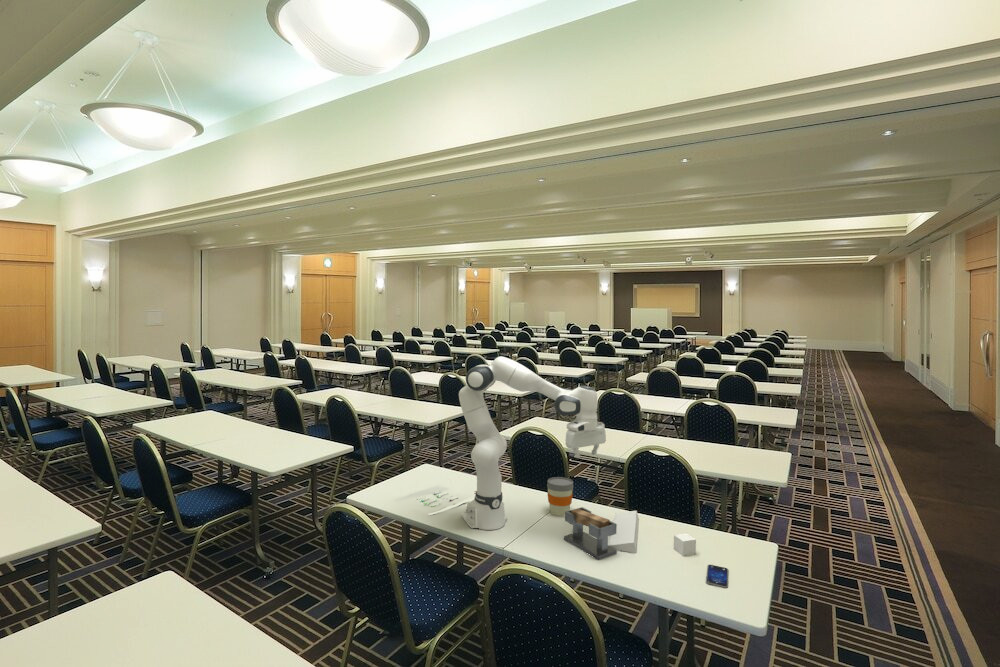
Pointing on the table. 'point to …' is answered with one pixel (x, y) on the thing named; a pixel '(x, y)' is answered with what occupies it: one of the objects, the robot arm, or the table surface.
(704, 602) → the table surface
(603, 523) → the rail
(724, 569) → the smartphone
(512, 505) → the table surface
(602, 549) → the bracket stand
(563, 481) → the reusable coffee cup
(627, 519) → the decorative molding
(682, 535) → the white cube
